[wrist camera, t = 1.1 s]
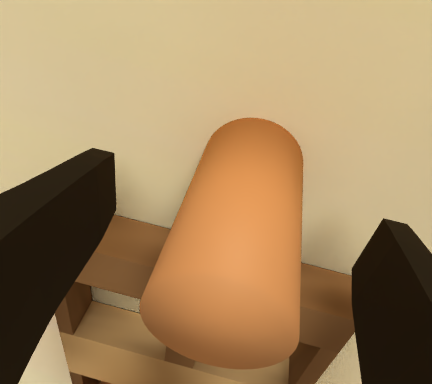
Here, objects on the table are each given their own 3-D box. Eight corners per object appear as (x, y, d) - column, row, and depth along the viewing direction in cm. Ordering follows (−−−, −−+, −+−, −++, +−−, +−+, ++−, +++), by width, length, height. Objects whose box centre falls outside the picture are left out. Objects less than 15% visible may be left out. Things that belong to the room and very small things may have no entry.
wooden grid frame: (356, 277, 14) (361, 322, 12) (254, 431, 25) (251, 465, 24) (64, 202, 15) (35, 236, 13) (93, 385, 26) (80, 415, 25)
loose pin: (317, 131, 11) (323, 302, 6) (287, 210, 13) (274, 383, 8) (212, 107, 11) (141, 255, 6) (199, 188, 13) (138, 345, 8)
